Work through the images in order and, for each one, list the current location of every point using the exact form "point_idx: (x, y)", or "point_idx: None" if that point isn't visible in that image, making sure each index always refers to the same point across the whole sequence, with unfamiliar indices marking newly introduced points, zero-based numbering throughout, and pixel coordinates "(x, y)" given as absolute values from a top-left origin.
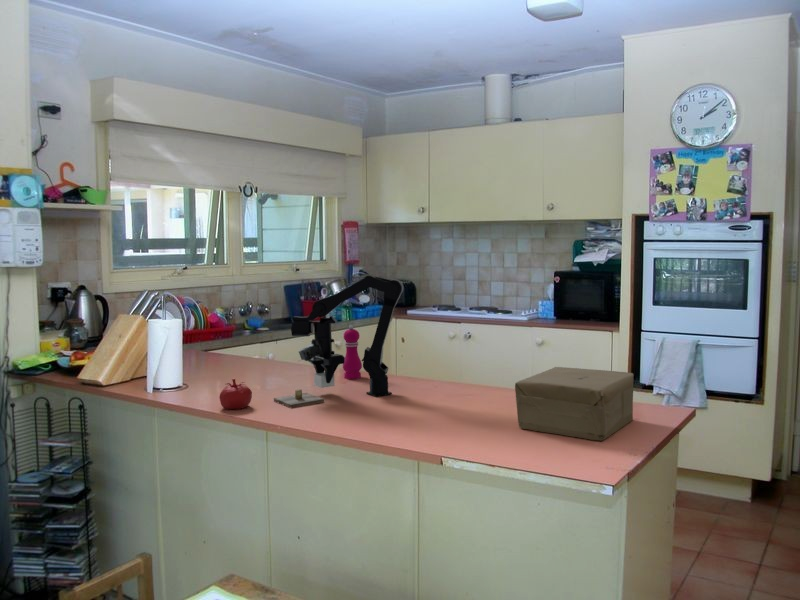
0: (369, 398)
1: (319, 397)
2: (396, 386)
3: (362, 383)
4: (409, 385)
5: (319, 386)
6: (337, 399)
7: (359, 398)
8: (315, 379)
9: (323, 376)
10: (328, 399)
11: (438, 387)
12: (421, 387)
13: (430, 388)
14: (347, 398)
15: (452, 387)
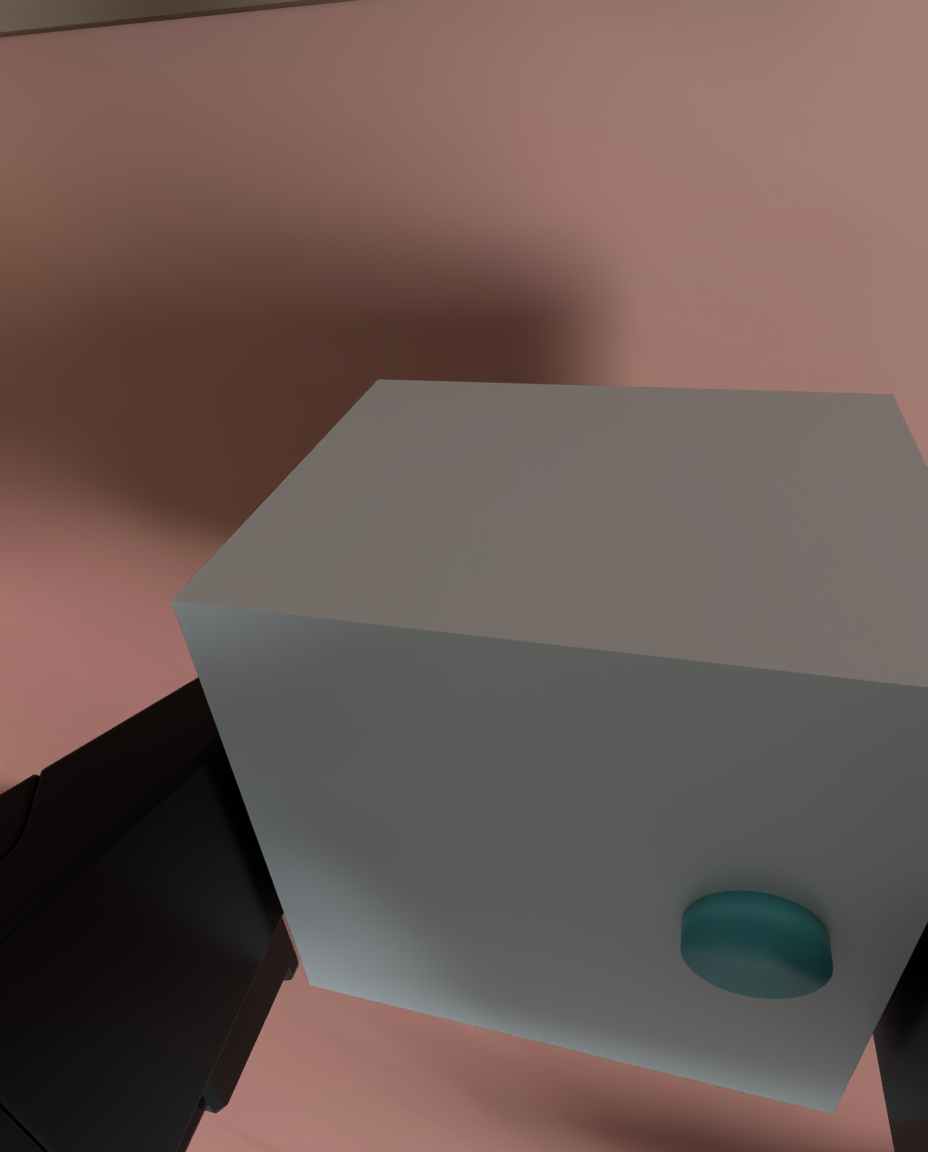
0: (18, 724)
1: (27, 26)
2: (427, 1104)
3: (832, 1122)
4: (398, 1140)
5: (498, 391)
6: (76, 412)
7: (49, 660)
8: (803, 509)
9: (227, 674)
10: (129, 275)
11: (227, 1134)
12: (282, 1117)
13: (221, 1109)
14: (97, 562)
15: (190, 1146)
